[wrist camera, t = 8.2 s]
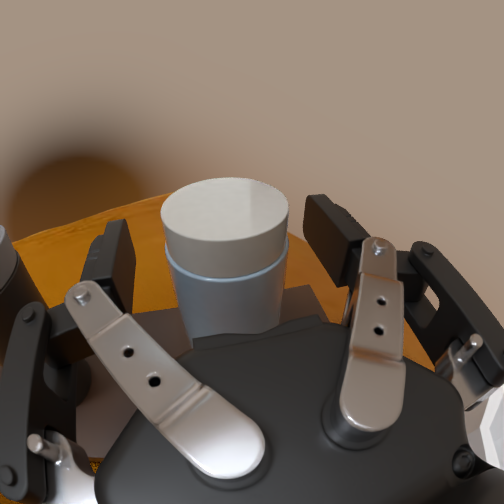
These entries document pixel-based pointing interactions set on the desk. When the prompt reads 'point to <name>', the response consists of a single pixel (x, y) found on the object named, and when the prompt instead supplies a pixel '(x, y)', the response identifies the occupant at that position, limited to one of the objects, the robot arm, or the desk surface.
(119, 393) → the desk shelf
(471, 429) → the mug
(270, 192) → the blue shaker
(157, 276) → the desk surface
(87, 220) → the desk surface
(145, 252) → the desk surface
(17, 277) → the dark shaker
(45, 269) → the desk surface
